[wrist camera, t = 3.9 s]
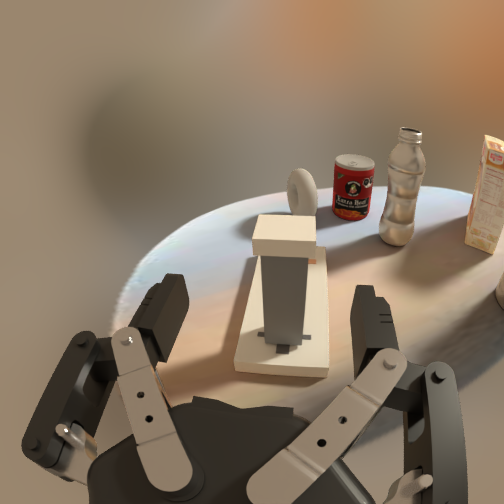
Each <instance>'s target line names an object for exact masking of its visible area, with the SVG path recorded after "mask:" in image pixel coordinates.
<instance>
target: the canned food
mask: <svg viewBox="0 0 504 504" xmlns="http://www.w3.org/2000/svg"><path fill="white" fill-rule="evenodd" d="M373 177H374V161H373V160H371V159H369V158H367V157H364V156H360V155H352V154H349V155H347V154H346V155H340V156H338V157H336V159H335V167H334V186H333V203H332V208H333V212H334V213H335V215H337V216H338V217H340V218H342V219H346V220H361V219H363V218H365V217H366V216H367V215H368V213H369V208H370V201H371V193H372V185H373Z"/></svg>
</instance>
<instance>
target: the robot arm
mask: <svg viewBox="0 0 504 504" xmlns="http://www.w3.org/2000/svg"><path fill="white" fill-rule="evenodd" d="M495 294H496V298H497V301H498V302H499V304H500V306H501V307H502V308H503V309H504V272H503V275H502V277H501V279H500V281H499V283H498V286H497V288H496V292H495ZM188 308H189V296H188V292H187V288H186V284H185V280H184V276H183V275H182V274H169V273H167V274H166V275H165V277H164V279H163V280H162V282H161V283H156V284H155V285H154V286H153V287H151V288H150V289H149V290H148V292H147V294H146V295H145V297H144V299H143V301H142V302H141V305H140V306H139V308H138V309H137V311H136V313H135V315H134V316H133V318H132V320H131V322H130V324H129V325H128V327H124V328H122V329H120V330H118V331H117V332H116V333H115V334H114V335H113V337H108V338H98V339H97V338H96V336H95V335H94V333H92V332H91V331H83V332H80V333H78V334H76V335H75V336H74V337H73V338H72V340H71V342H70V344H69V345H68V347H67V349H66V351H65V352H64V354H63V356H62V358H61V360H60V362H59V364H58V365H57V367H56V369H55V371H54V373H53V375H52V377H51V379H50V381H49V383H48V385H47V387H46V389H45V391H44V393H43V395H42V397H41V399H40V401H39V403H38V405H37V407H36V410H35V412H34V414H33V416H32V418H31V421H30V423H29V425H28V427H27V430H26V432H25V434H24V437H23V439H22V445H21V446H22V451H23V453H24V455H25V456H26V457H27V458H29V459H30V460H32V461H33V462H35V463H36V464H38V466H40V467H41V468H43V469H45V470H46V471H48V472H50V473H51V474H53V475H55V476H58V477H60V478H62V479H63V480H66V481H68V482H72V481H77V482H79V483H81V484H83V485H86V486H88V492H89V504H376V503H375V501H374V499H373V498H372V496H371V495H370V494H369V493H368V491H367V490H366V489H365V488H364V487H363V485H362V484H361V483H360V482H359V481H358V479H357V478H356V477H355V476H354V474H353V473H352V472H351V471H350V469H349V468H348V467H347V465H346V464H345V463H344V462H343V460H342V459H343V458H344V456H345V455H346V454H347V453H348V452H349V451H350V449H351V448H352V447H353V446H354V445H355V443H356V442H357V441H358V439H359V438H360V437H361V436H362V434H363V433H364V432H365V430H366V429H367V428H368V427H369V425H370V424H371V423H372V421H373V420H374V419H375V418H376V416H377V415H378V414H379V412H380V411H381V409H382V408H383V407H384V406H386V407H389V408H393V409H397V410H401V411H403V425H404V475H403V476H402V477H401V478H399V479H398V480H396V481H395V482H394V483H393V484H392V485H391V487H390V489H389V492H388V496H387V498H386V500H385V501H384V503H383V504H468V482H467V461H466V449H465V438H464V430H463V422H462V414H461V408H460V402H459V395H458V390H457V384H456V379H455V374H454V371H453V369H452V368H451V367H450V366H449V365H448V364H446V363H444V362H441V361H435V362H432V363H430V364H429V365H428V366H427V367H424V366H420V365H416V364H413V363H411V362H409V361H407V360H406V358H405V356H404V355H403V354H402V353H401V352H400V351H399V347H398V342H397V337H396V333H395V328H394V323H393V319H392V316H391V310H390V305H389V304H388V303H387V301H386V300H385V299H384V297H376V296H375V291H374V287H373V285H357V286H356V289H355V294H354V299H353V303H352V308H351V315H350V324H351V335H352V347H353V361H354V378H355V381H354V382H353V383H352V384H351V385H350V386H349V385H348V386H346V387H345V388H344V389H343V390H342V391H341V393H340V394H339V395H338V396H337V397H336V398H335V399H334V400H333V401H332V402H331V404H330V405H329V406H328V407H327V408H326V409H325V410H324V411H323V412H322V413H321V414H320V415H319V416H318V417H317V418H316V419H315V420H314V421H313V422H312V423H311V422H309V421H308V420H306V419H304V418H302V417H300V416H297V415H294V414H293V408H289V407H276V406H263V407H255V408H246V409H240V408H237V407H234V406H232V405H229V404H227V403H224V402H221V401H219V400H215V399H209V398H203V397H197V396H193V400H192V402H190V403H184V404H180V405H177V406H174V407H172V405H171V403H170V400H169V398H168V396H167V394H166V391H165V389H164V386H163V384H162V381H161V379H160V376H159V374H158V371H157V369H156V365H157V363H158V361H159V362H165V363H166V362H167V360H168V357H169V355H170V353H171V350H172V348H173V345H174V343H175V340H176V338H177V335H178V333H179V331H180V328H181V326H182V323H183V321H184V319H185V316H186V314H187V312H188ZM115 381H118V384H119V388H120V392H121V395H122V399H123V402H124V406H125V409H126V412H127V415H128V418H129V422H130V425H131V428H132V431H133V434H131V435H130V436H128V437H127V438H125V439H124V440H122V441H121V442H119V443H118V444H116V445H115V446H113V447H111V448H110V449H108V450H107V451H105V452H104V453H102V454H101V455H99V456H98V457H97V443H96V441H95V439H94V435H95V433H96V430H97V427H98V425H99V422H100V419H101V416H102V414H103V411H104V409H105V406H106V404H107V401H108V398H109V396H110V393H111V391H112V388H113V386H114V383H115ZM96 457H97V458H96Z"/></svg>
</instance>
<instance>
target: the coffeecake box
mask: <svg viewBox="0 0 504 504" xmlns="http://www.w3.org/2000/svg"><path fill="white" fill-rule="evenodd" d="M503 225H504V141H501V140H499V139H497V138H494V137H491V136H488V135H485V136H484V144H483V150H482V156H481V161H480V167H479V171H478V177H477V181H476V185H475V190H474V194H473V198H472V202H471V206H470V210H469V213H468V218H467V227H466V236H465V244H467V245H469V246H472V247H474V248H477V249H480V250H482V251H485V252H487V253H490V254H492V255H493V254H494V251H495V248H496V245H497V243H498V240H499V237H500V234H501V231H502V228H503Z"/></svg>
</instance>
